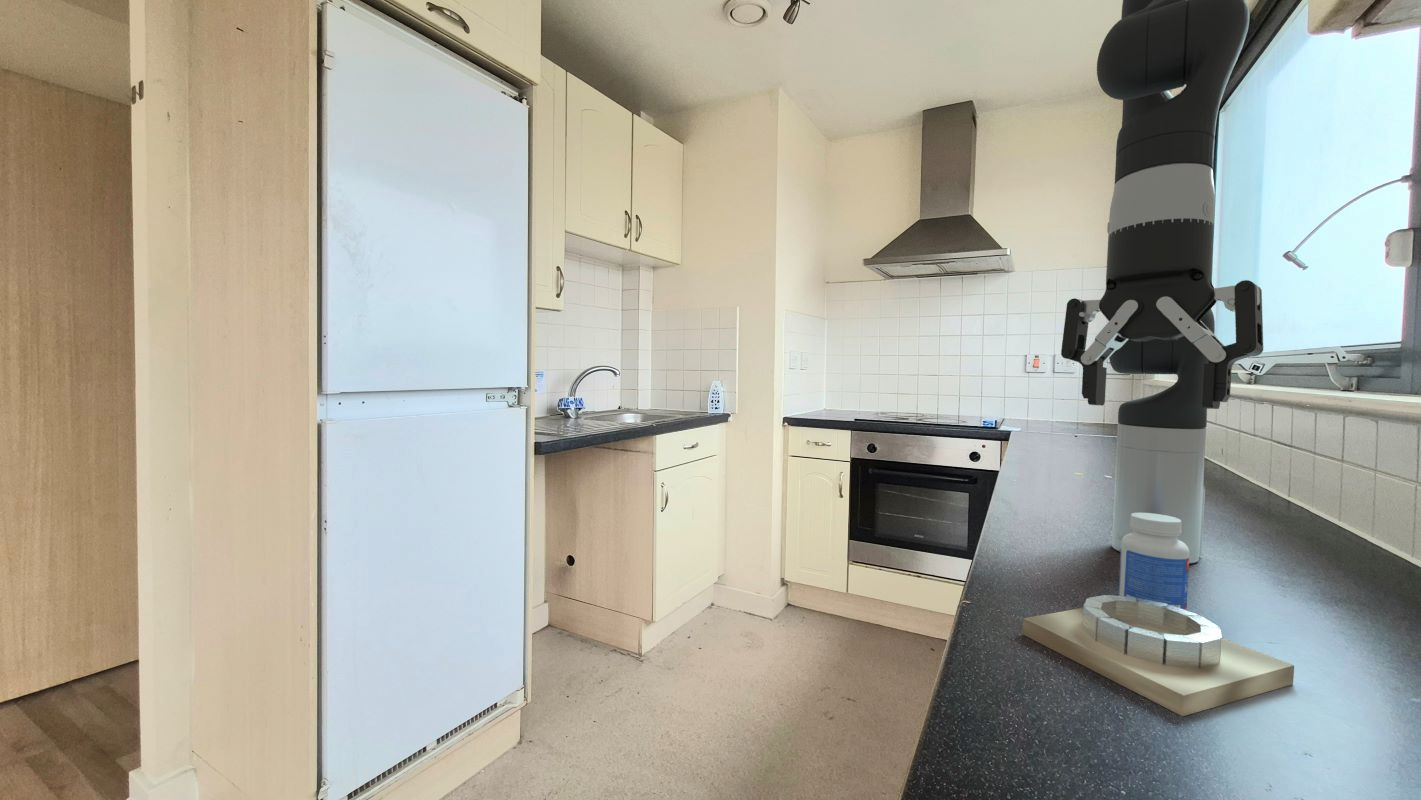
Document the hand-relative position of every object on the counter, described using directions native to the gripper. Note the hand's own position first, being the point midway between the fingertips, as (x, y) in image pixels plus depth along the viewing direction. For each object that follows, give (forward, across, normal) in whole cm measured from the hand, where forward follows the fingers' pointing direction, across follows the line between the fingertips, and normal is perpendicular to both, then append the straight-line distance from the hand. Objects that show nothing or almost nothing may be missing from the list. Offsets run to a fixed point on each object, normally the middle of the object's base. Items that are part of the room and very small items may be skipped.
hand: (1149, 406), depth 51 cm
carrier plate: (+21, -2, +4) cm, 22 cm away
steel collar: (+20, -2, +4) cm, 20 cm away
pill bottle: (+21, +1, -8) cm, 22 cm away
